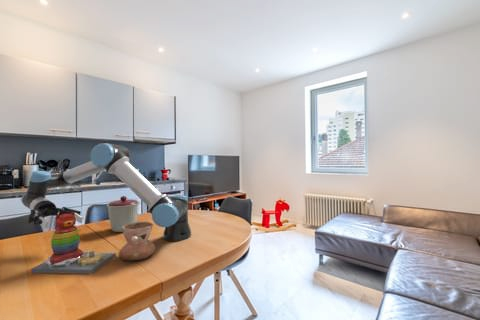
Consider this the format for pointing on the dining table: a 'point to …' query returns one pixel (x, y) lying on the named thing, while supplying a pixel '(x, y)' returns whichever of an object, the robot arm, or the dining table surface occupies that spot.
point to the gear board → (79, 264)
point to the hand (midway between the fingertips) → (65, 222)
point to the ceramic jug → (137, 241)
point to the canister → (122, 213)
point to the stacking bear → (65, 239)
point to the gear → (62, 262)
